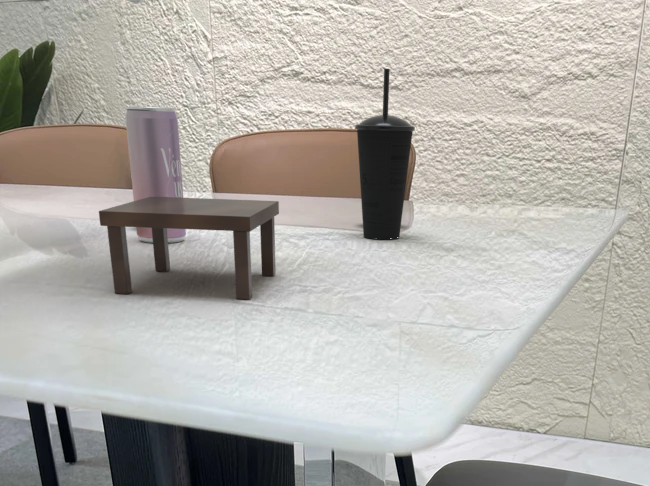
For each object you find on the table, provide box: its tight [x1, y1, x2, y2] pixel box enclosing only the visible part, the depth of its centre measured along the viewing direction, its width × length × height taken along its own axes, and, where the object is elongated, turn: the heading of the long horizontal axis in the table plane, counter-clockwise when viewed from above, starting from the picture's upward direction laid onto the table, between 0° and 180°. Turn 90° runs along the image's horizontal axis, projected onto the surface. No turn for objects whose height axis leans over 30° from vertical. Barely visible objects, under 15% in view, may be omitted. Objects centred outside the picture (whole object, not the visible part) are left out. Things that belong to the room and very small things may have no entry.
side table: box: [98, 197, 280, 300], centre depth 72 cm, size 13×13×7 cm
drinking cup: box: [354, 68, 416, 240], centre depth 99 cm, size 8×8×20 cm
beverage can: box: [124, 106, 187, 244], centre depth 93 cm, size 6×6×15 cm
